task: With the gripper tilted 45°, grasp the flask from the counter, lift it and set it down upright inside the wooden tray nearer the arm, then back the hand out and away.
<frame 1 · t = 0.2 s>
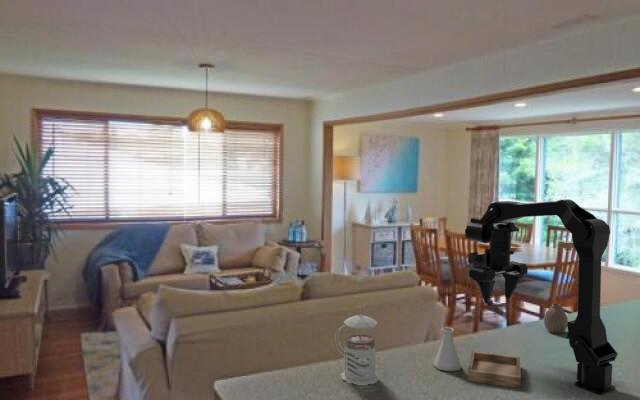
hand: (497, 300, 144), 14 cm above the countertop, tool pointing down, fingers open, 9 cm apart
wooden tray: (494, 373, 129), on the countertop
flask: (447, 367, 133), on the countertop
french press: (356, 377, 126), on the countertop
vase: (555, 332, 162), on the countertop
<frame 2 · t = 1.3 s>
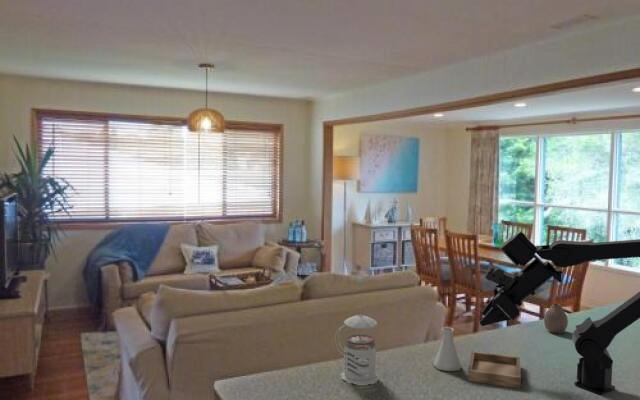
hand: (481, 319, 129), 13 cm above the countertop, tool tilted 45°, fingers open, 9 cm apart
nothing on the countertop moved.
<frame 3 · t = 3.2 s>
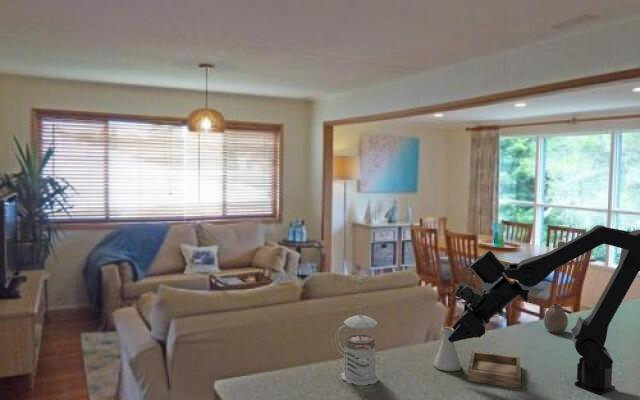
hand: (451, 335, 132), 8 cm above the countertop, tool tilted 45°, fingers open, 9 cm apart
nothing on the countertop moved.
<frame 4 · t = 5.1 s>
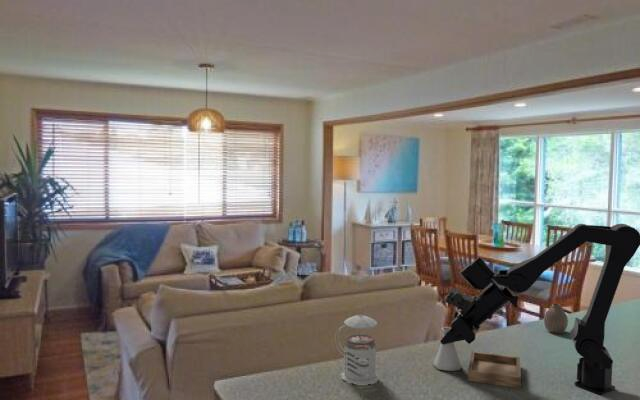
hand: (442, 340, 133), 7 cm above the countertop, tool tilted 45°, fingers closed on flask, 3 cm apart
flask: (447, 367, 133), on the countertop, touching gripper
everything else where it was.
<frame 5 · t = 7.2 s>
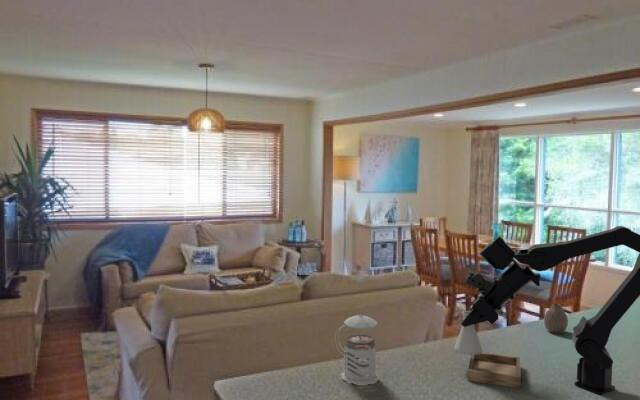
hand: (463, 323, 131), 12 cm above the countertop, tool tilted 45°, fingers closed on flask, 3 cm apart
flask: (467, 351, 131), point 5 cm above the countertop, touching gripper
everything else where it was.
when the fingers open (9 cm above the countertop, at t = 9.4 s): flask stays where it is, resting on wooden tray.
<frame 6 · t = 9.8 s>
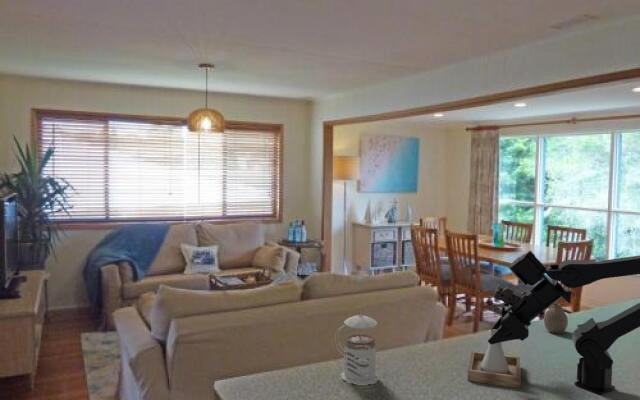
hand: (489, 338, 129), 9 cm above the countertop, tool tilted 45°, fingers open, 7 cm apart
flask: (494, 370, 129), point 1 cm above the countertop, touching wooden tray
everything else where it was.
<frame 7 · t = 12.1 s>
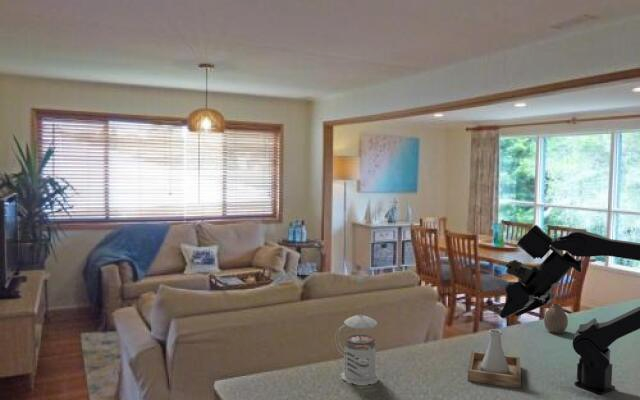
hand: (508, 316, 130), 14 cm above the countertop, tool tilted 35°, fingers open, 9 cm apart
nothing on the countertop moved.
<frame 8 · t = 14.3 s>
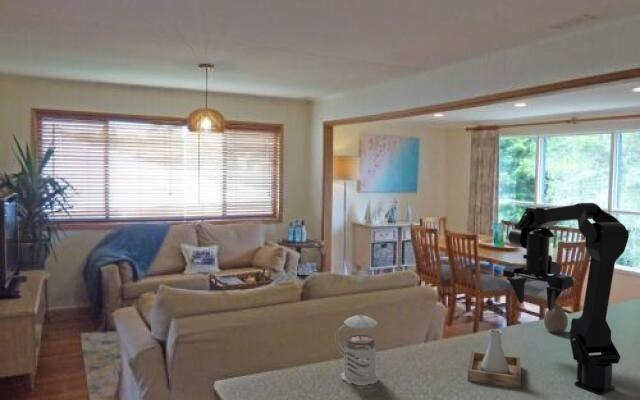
hand: (535, 306, 143), 13 cm above the countertop, tool pointing down, fingers open, 9 cm apart
nothing on the countertop moved.
at the end: flask 0.0 cm off-centre on the wooden tray, point 0.6 cm above the wooden tray's base; flask tilted 0°; the gripper is holding nothing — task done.
